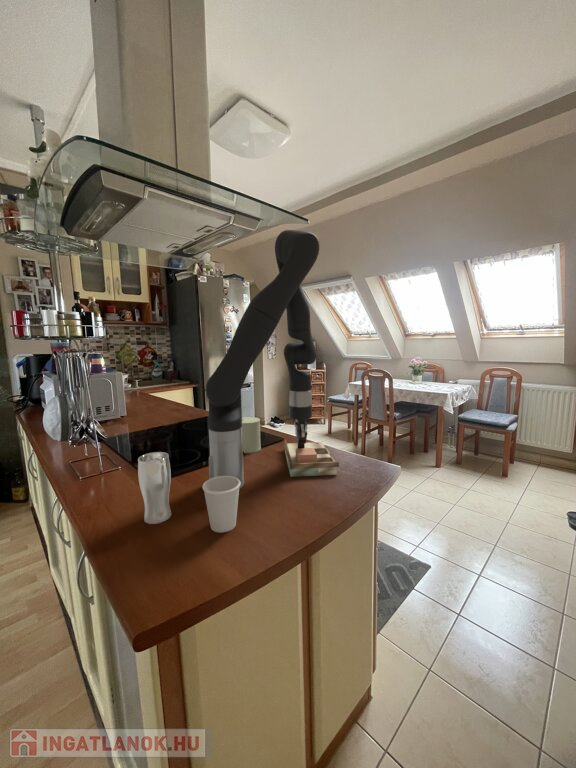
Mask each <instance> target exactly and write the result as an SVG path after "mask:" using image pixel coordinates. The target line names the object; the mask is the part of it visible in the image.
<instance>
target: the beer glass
mask: <svg viewBox="0 0 576 768" xmlns="http://www.w3.org/2000/svg"><path fill="white" fill-rule="evenodd" d="M169 458H170V457H169V453H167V452H162V451H157V452H156V451H154V452H149V453H145V454H143V455H141V456H139V457H138V458H137V462H138V463H137V475H138V483H139V489H140V492H141V496H142V498H143V502H144V515H143V520H144V521H143V522H145V523H146V524H149V525H157V524H162V523H165V522H167V520H169V519H170V518H171V516H172V510H171V506H170V502H169V499H170V496H169V495H170V490H171V480H172V479H171V478H172V476H171V475H172V473H171V462H170V459H169Z"/></svg>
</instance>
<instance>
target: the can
mask: <svg viewBox="0 0 576 768" xmlns="http://www.w3.org/2000/svg"><path fill="white" fill-rule="evenodd" d="M242 441H243V452H244V453H243V454H253V453H256V452H259V451H261V450H262V447H261V419H260V418H259V417H256V416H255V417H253V416H246V417H244V416H243V417H242Z"/></svg>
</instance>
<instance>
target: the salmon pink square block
mask: <svg viewBox="0 0 576 768" xmlns="http://www.w3.org/2000/svg"><path fill="white" fill-rule="evenodd" d="M296 461H297V463H314V462H317V453H316V451H315V450H314V448H300V449H296Z"/></svg>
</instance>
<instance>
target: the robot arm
mask: <svg viewBox="0 0 576 768" xmlns="http://www.w3.org/2000/svg"><path fill="white" fill-rule="evenodd" d="M274 253H275V255H274V256H275V260H276V261H275V262H276V264H277V269H278V274H277V275H276V277H275V278H274V279H273V280H272V281H271V282H270V283H269V284H268V285H266V286H265V287H264V288H263V289H261V290H260V291H259V292H258V293H257V294H256V295H255V296H253V298H252V299H251V300H250V301H249V303H248V305H247V307H246V309H245V310H244V313H243V315H241V316H242V317H241V319H240V321H239V322H238V324H237V327H236V329H235V332H234V334H233V337H232V340H231V342H230V345H229V347H228V350H227V351H226V353H225V355H224V357H223V359H222V360H221V361H220V363H219V365H218V366H217V367H216V369H215V370H214V372H213V373H212V374H211V376H210V377H209V378H208V380H207V382H206V384H205V393H206V397H207V399H208V417H207V418H208V419H207V422H208V437H209V438H208V439H209V440H208V441H209V443H208V444H209V456H208V470H209V473H208V474H209V479H211V478H214V477H218V476H232V477H235V478H237V479H239V480H240V482H241V484H240V486H239V490H240V489H241V488H242V487H243V486H244V485H245V475H244V474H245V473H244V453H243V441H242V418H243V417H242V415H243V410H242V388H243V386H244V383H245V381H246V378H247V377H248V374H249V372H250V371H251V368H252V366H253V364H254V362H256V360H257V358H258V357H259V355H260V354H261V353H262V351H263V349H264V348H265V346H266V345H267V344H268V341H269V340H270V338H271V337H272V335H273V334H274V332H275V329H276V328H277V327H278V324H279V322H280V320H281V318H282V316H283V314H284V312H285V311H286V320H287V334H288V337H290V338H291V339H294V340H297V341H301V342H288V343H287V344H286V345H285V346H284V348H283V357H284V360H285V363H286V366H287V370H288V376H289V395H288V396H289V397H288V403H289V404H288V408H289V409H288V413H289V419H292V420H294V421H295V422H294V428H295V429H294V431H295V432H294V433H295V438H296V443H297V445H298V449H300V448H305V444H306V443H307V438H308V437H307V436H308V423H307V421H306V420H309V419H312V417H313V394H312V375H311V373H310V372H308V371H303V370H299V369H298V368H297V366H296V365H312V364H314V363H315V362H316V360H317V357H318V352H317V349H316V345H315V343H314V339H313V336H312V331H311V330H312V329H311V311H310V306H309V303H308V300H307V298H306V297H307V296H306V295H305V292H304V289H303V287H302V283H303V281H304V280H305V279H306V277H307V276H308V274H309V273H310V271H311V270H312V269H313V267H314V265H315V263H316V261H317V260H318V257H319V255H320V254H319V253H320V241H319V237H317V235H316V234H314V233H313V232H310V231H307V230H297V229H295V230H294V229H285V230H283V231H281V232H280V233H279V234H278V236H277V237H276V240H275V243H274Z"/></svg>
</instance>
